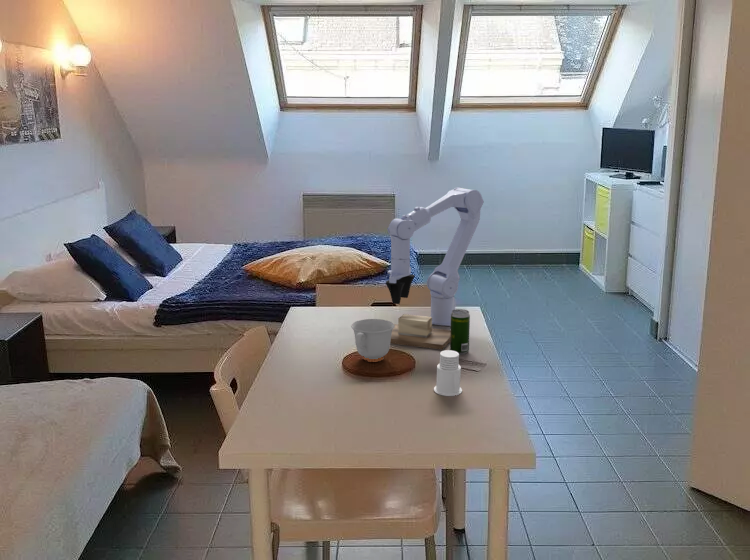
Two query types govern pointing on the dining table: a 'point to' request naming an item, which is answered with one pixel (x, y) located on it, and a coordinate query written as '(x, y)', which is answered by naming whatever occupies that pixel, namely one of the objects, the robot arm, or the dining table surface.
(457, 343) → the guarana soda can
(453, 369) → the downlight
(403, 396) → the dining table surface
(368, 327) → the teacup
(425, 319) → the block
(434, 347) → the board
